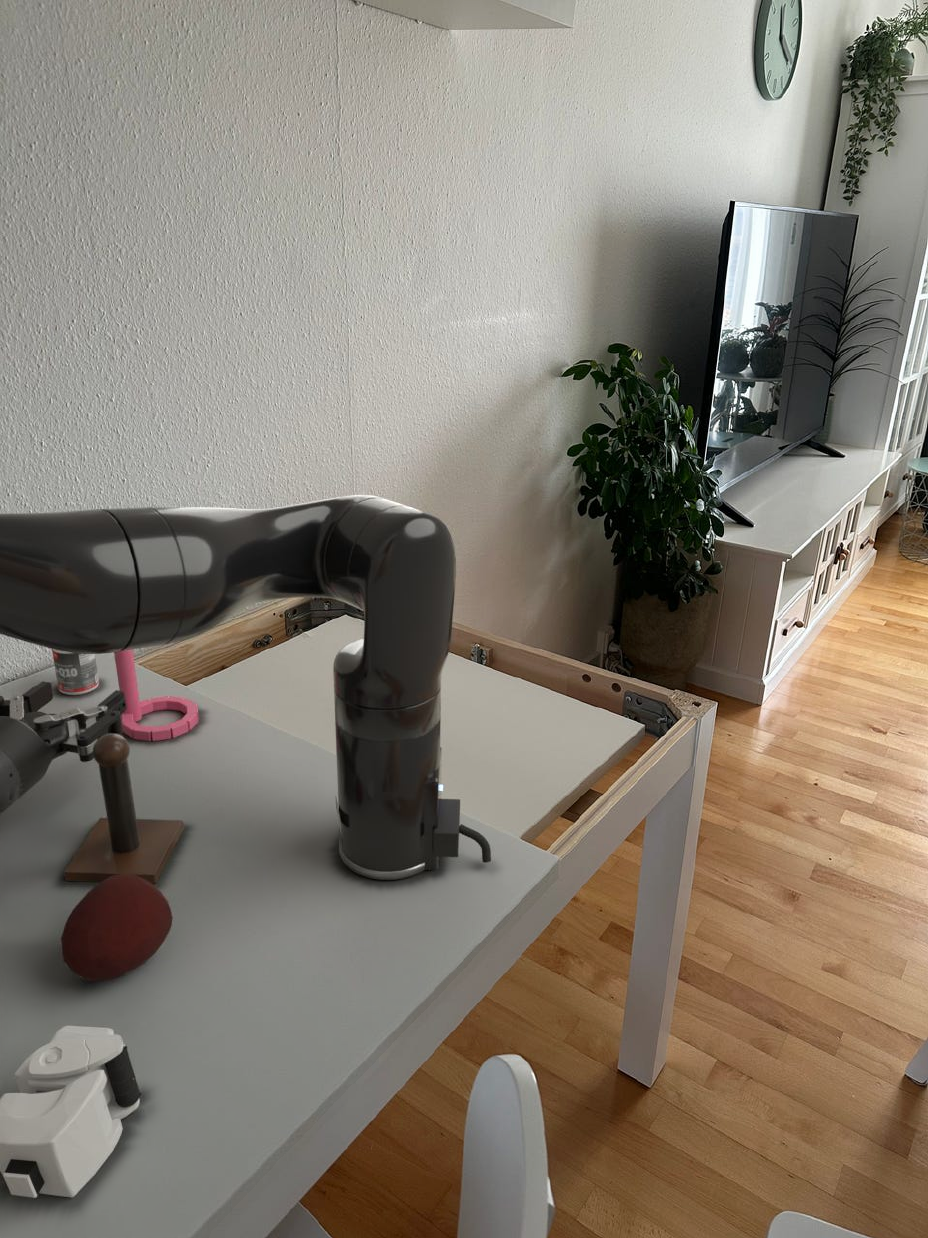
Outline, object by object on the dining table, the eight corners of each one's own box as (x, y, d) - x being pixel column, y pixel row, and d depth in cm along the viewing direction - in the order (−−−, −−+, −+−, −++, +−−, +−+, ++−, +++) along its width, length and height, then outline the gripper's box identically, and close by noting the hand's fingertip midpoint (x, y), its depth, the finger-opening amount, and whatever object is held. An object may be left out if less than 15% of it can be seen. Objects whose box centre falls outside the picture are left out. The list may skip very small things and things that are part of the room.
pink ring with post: (210, 709, 107) (202, 623, 103) (176, 745, 100) (165, 654, 95) (143, 701, 109) (132, 616, 105) (105, 735, 101) (91, 645, 97)
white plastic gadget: (158, 1067, 61) (90, 1222, 52) (65, 1060, 61) (-18, 1213, 52) (141, 1007, 58) (66, 1160, 49) (44, 1001, 59) (-47, 1151, 50)
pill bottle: (50, 691, 111) (39, 629, 107) (78, 675, 115) (68, 615, 111) (80, 699, 109) (69, 636, 106) (107, 683, 113) (98, 622, 110)
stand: (184, 828, 86) (170, 714, 81) (155, 884, 78) (138, 762, 74) (101, 826, 86) (82, 711, 81) (65, 881, 79) (41, 759, 74)
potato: (63, 992, 69) (22, 921, 67) (147, 917, 75) (113, 850, 73) (118, 1012, 65) (76, 937, 62) (203, 931, 71) (168, 860, 69)
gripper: (45, 749, 78) (142, 669, 92) (-98, 729, 80) (19, 654, 95) (58, 821, 81) (150, 732, 95) (-80, 800, 83) (31, 716, 98)
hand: (85, 693), depth 95 cm, fingers open, 8 cm apart
